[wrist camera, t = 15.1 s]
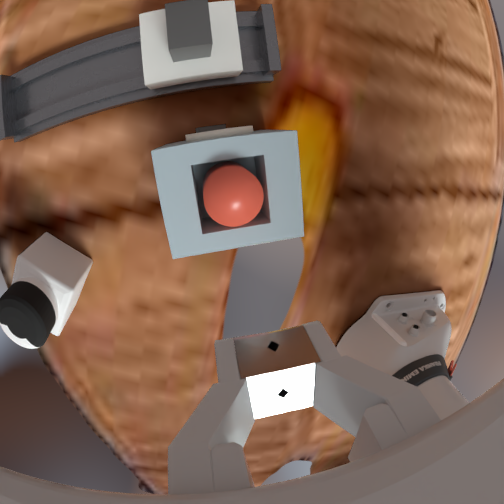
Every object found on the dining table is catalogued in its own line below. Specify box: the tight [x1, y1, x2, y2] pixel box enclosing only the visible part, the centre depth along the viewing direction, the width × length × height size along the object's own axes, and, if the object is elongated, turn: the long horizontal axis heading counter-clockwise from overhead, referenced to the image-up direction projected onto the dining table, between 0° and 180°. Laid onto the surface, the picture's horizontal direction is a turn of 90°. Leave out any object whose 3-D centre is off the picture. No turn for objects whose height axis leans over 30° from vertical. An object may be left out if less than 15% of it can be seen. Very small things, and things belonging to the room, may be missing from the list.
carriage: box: [139, 0, 243, 90], centre depth 18 cm, size 8×7×7 cm
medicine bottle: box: [0, 232, 93, 348], centre depth 24 cm, size 7×7×12 cm
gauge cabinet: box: [151, 124, 304, 259], centre depth 24 cm, size 10×9×10 cm
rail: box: [0, 4, 281, 142], centre depth 21 cm, size 28×8×4 cm, turn 96°
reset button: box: [203, 161, 264, 227], centre depth 21 cm, size 4×4×4 cm
